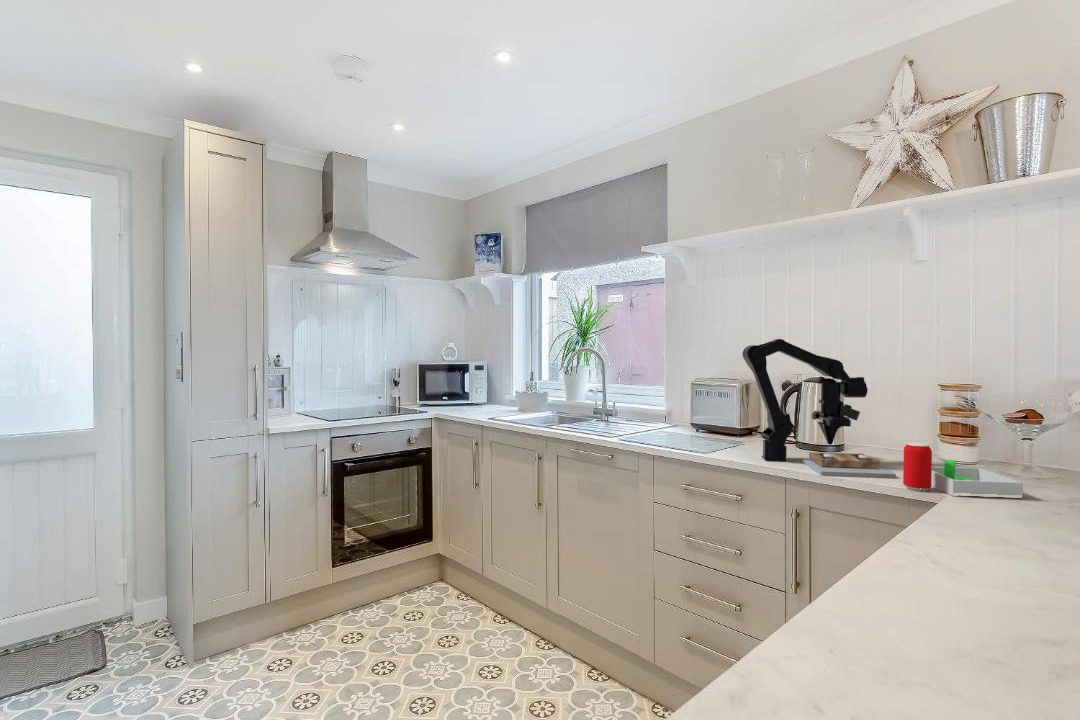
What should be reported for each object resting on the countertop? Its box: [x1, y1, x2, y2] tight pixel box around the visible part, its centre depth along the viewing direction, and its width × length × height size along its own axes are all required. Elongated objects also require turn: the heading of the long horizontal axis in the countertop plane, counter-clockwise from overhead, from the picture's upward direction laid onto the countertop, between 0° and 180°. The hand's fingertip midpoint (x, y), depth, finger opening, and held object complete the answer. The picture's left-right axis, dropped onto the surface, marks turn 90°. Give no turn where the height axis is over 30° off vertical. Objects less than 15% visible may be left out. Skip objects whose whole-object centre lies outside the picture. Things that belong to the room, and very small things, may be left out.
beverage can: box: [902, 442, 933, 492], centre depth 147 cm, size 6×6×12 cm
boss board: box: [802, 454, 897, 479], centre depth 169 cm, size 20×18×4 cm
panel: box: [808, 451, 880, 468], centre depth 172 cm, size 16×12×2 cm
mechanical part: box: [943, 459, 974, 481], centre depth 147 cm, size 12×6×8 cm, turn 140°
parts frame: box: [931, 466, 1024, 496], centre depth 146 cm, size 16×17×4 cm
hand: (830, 444), depth 183 cm, fingers closed
